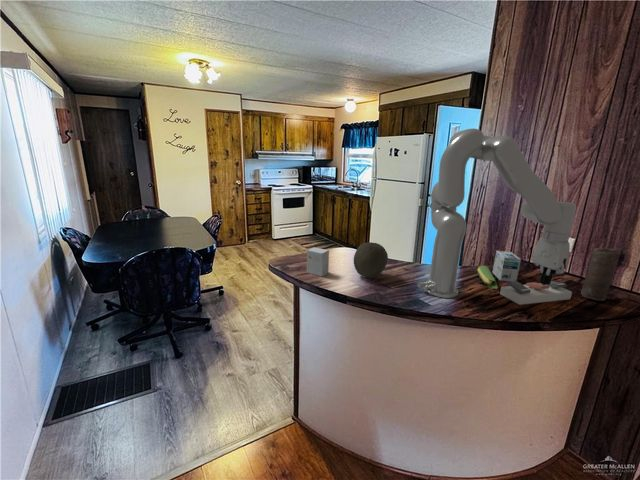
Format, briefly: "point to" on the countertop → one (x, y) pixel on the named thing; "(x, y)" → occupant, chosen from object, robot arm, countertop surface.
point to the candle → (600, 273)
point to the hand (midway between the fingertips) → (544, 283)
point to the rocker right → (557, 284)
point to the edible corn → (487, 276)
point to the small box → (317, 261)
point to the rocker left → (519, 287)
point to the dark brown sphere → (370, 259)
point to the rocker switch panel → (536, 294)
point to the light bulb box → (506, 266)
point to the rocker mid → (537, 285)
